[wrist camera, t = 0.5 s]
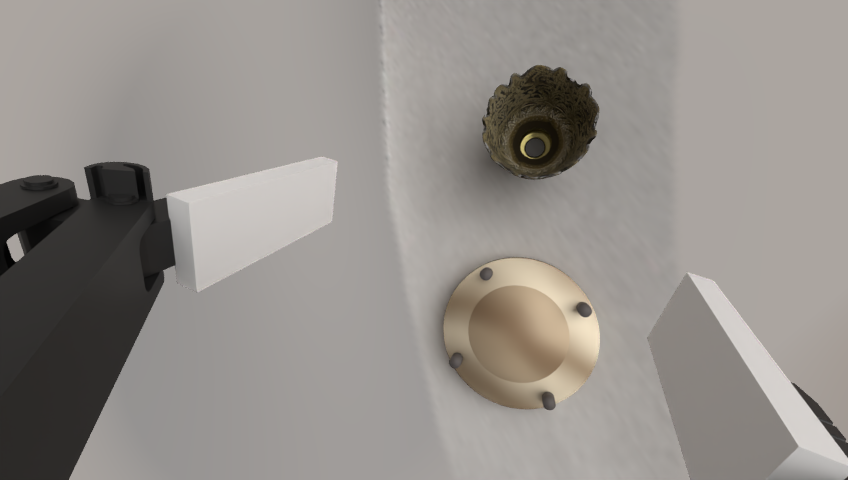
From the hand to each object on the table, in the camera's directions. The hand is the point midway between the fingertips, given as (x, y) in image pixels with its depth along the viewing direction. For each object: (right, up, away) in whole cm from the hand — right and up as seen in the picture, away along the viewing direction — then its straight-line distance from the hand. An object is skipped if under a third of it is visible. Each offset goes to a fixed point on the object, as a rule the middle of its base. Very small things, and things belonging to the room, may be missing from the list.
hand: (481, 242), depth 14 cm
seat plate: (+6, -8, +19) cm, 21 cm away
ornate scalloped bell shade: (+8, +8, +18) cm, 21 cm away
